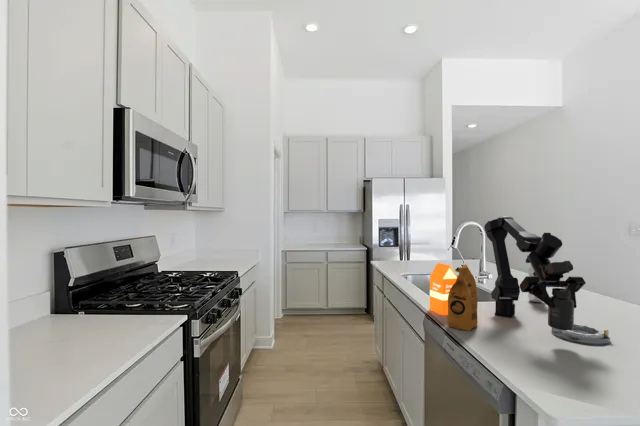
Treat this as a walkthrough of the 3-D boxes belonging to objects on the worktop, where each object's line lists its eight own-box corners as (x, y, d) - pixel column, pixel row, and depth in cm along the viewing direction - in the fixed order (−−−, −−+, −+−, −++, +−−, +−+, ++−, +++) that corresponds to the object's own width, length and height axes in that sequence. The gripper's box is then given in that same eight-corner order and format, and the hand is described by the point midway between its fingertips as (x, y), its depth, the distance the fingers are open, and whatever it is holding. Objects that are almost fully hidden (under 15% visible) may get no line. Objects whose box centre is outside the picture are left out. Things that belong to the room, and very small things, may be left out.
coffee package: (442, 326, 131) (443, 266, 131) (454, 319, 140) (454, 262, 140) (471, 332, 124) (471, 269, 124) (481, 324, 134) (481, 265, 134)
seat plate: (549, 337, 120) (549, 327, 120) (553, 325, 132) (553, 316, 132) (611, 349, 110) (611, 337, 110) (608, 334, 123) (608, 324, 123)
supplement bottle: (578, 331, 109) (579, 292, 109) (554, 330, 110) (555, 291, 110) (566, 324, 116) (566, 287, 116) (543, 323, 117) (544, 286, 117)
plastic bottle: (541, 300, 170) (542, 258, 170) (545, 304, 163) (546, 260, 163) (526, 299, 172) (526, 258, 172) (529, 303, 165) (529, 259, 165)
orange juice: (444, 308, 156) (444, 262, 156) (458, 313, 148) (458, 265, 148) (429, 309, 154) (429, 263, 154) (442, 315, 145) (442, 266, 145)
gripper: (525, 251, 117) (546, 293, 106) (582, 252, 117) (609, 294, 106) (511, 271, 125) (529, 312, 114) (564, 271, 125) (588, 312, 114)
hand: (564, 307), depth 112 cm, fingers closed on supplement bottle, 7 cm apart
